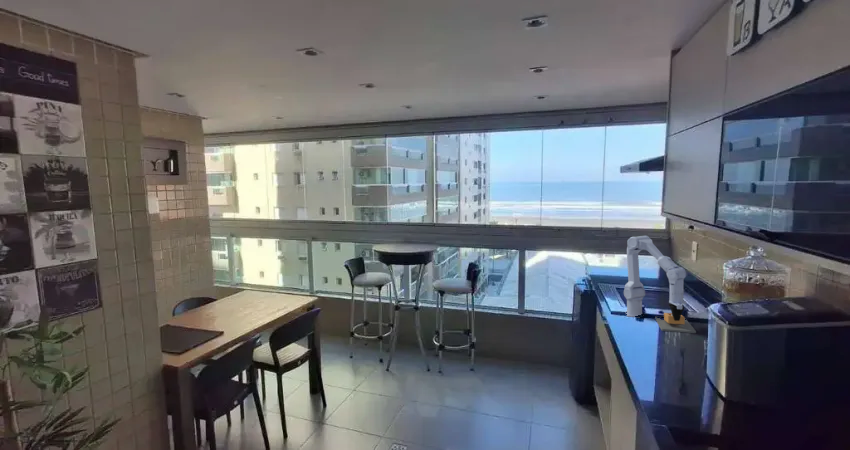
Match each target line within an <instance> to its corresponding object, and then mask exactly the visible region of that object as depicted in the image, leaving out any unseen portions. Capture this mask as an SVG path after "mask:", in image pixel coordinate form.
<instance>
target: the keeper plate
mask: <svg viewBox="0 0 850 450" xmlns="http://www.w3.org/2000/svg"><path fill="white" fill-rule="evenodd" d="M671 316H672V314H671ZM657 317H658V316H655V318H656V320H655V322H656V321H657V322H656V323H657V325H658V327H659V328H660V330H661V331H662V332H670V333H671V332H673V333H685V334H687V333H688V334H696V333H697V331H696V329H695V328H694V327H693V326H692V325H691V323H690V322H689V321H688V320H687V319H686V320H685V324H672V323H668V322H666V321H665V320H661V319H660V318H657ZM655 318H654V319H655Z"/></svg>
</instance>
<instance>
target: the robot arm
mask: <svg viewBox="0 0 850 450" xmlns="http://www.w3.org/2000/svg"><path fill="white" fill-rule="evenodd" d="M626 243H627V247H626V260H627V261H626V262H627V263H626V264H627V279H628V282H626V283H625V285H624V288H623V289H624V290H623V295H624V298H625V299H626V310H625V311H626V312H627V313H626V312H625V315H626V314H627V315H626V316H627V317H630V318H636V317H635V316H638V315H641V314H643V309H642V308H643V299H644V298H645V296H646V290H645V287H644V284H643V283H642V282H641V281H640V265H639V264H640V263H639V262H640V261H639V259H640V258H639V253H640V252H641V251H643V250H644V251H647V252H648V253H649V254H650V255H651V256H653V258H655V259H656V260H657V264H658V266H660V268H661V269H663V271H664V272H665V273H666V277H667V279H668V283H669V298H668V299H669V300H668V307H669V308H670V311H671V312H670V313H672V316H673V317H674V320H675V321H679V320H680V317H681V315H682V313H683V312H684V310H685V307H684V306H683V305H684V304H685V305H686V304H687V301H686V300H684V282H685V281H684V279H685V278H686V277H687V271H686V270H685V267H681V266H679V265H678V264H677V263H675V262H674V261H673V260H672V258H671V257H669V256H667V255H663V253H662V252H661V251H660V250H659V248H657V246H656V245H655V244H654V243H653V239H651V238H650V237H649V236H648V235H640V236H639V235H638V236H631V237H629V238H628V239H627V242H626Z"/></svg>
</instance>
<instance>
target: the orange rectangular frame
mask: <svg viewBox="0 0 850 450" xmlns="http://www.w3.org/2000/svg"><path fill="white" fill-rule="evenodd" d="M671 314H672V312H663V317H664V320H665V321H666V322H668V323H672V324H685V319H686V318H685V316H683V315H682V314H681V317H680V320H679V321H675V320H674V317H673V316H671Z"/></svg>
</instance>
